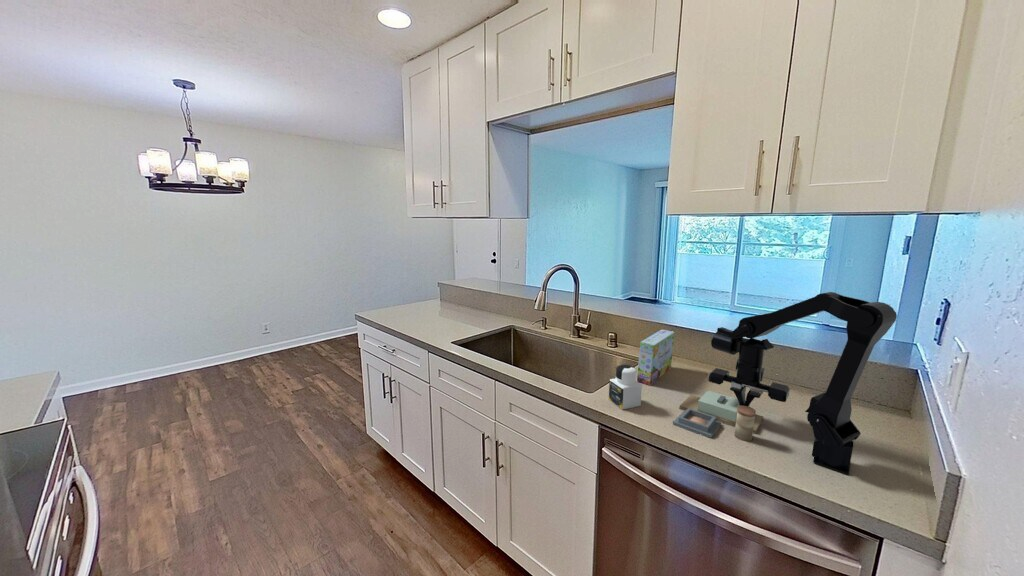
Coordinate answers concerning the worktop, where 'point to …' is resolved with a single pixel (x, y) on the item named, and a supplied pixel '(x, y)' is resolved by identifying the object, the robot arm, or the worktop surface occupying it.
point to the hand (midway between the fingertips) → (744, 411)
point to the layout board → (693, 404)
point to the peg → (744, 423)
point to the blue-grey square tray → (697, 422)
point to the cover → (719, 405)
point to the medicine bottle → (625, 388)
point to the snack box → (655, 356)
